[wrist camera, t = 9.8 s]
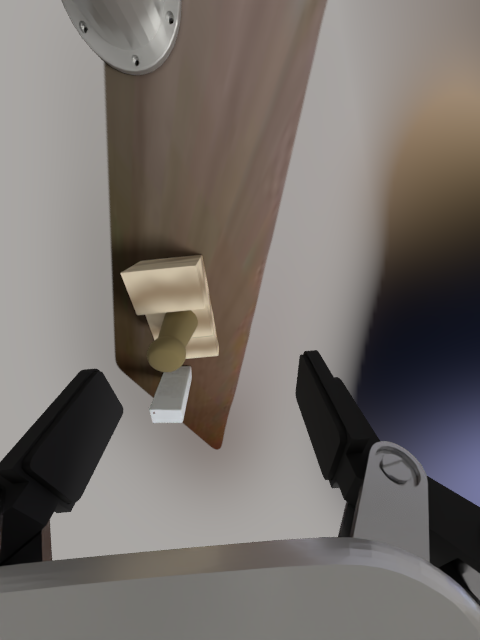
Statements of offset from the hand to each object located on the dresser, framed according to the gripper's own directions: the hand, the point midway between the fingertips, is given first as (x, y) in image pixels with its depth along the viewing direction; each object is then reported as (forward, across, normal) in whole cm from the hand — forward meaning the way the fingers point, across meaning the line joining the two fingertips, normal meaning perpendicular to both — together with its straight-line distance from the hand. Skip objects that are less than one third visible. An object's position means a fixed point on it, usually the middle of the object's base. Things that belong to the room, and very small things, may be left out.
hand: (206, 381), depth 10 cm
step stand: (+29, +9, +11) cm, 33 cm away
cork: (+25, +8, +11) cm, 28 cm away
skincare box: (+29, +14, +28) cm, 42 cm away
